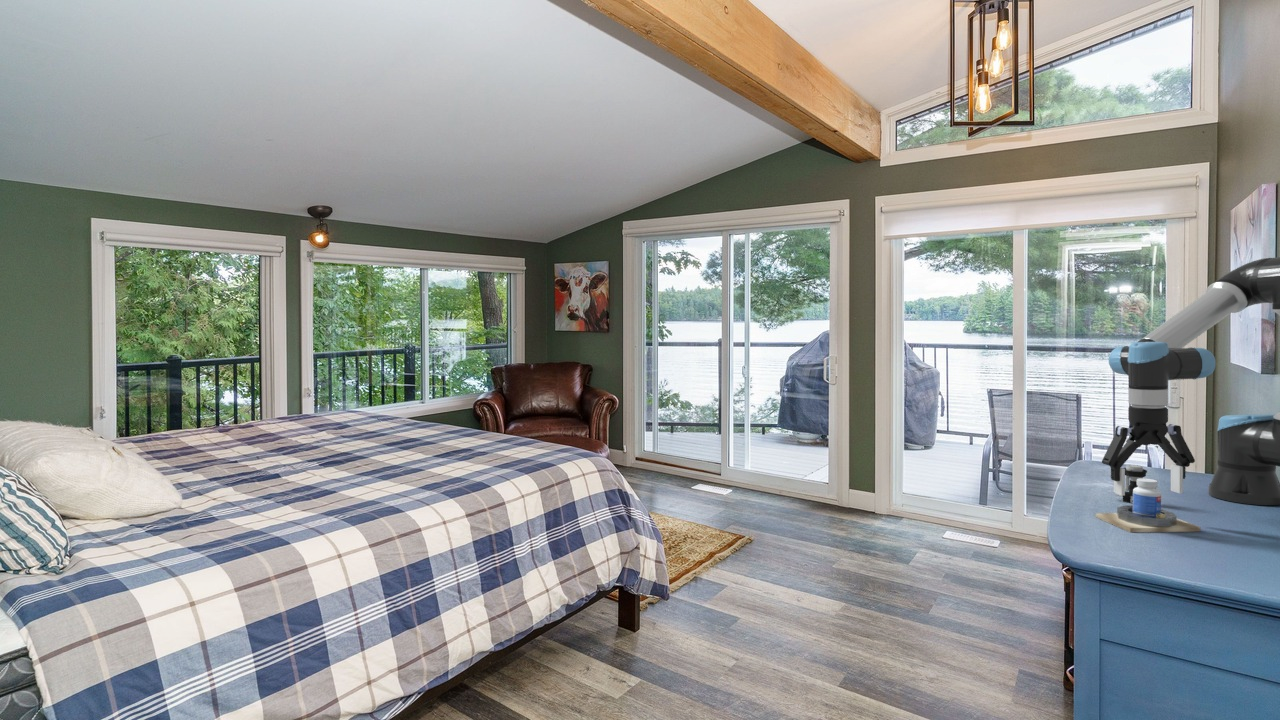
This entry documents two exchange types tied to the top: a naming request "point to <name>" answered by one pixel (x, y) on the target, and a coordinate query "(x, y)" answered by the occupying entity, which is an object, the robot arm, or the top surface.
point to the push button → (1132, 481)
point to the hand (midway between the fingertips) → (1147, 493)
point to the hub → (1147, 517)
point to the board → (1130, 527)
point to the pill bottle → (1146, 497)
